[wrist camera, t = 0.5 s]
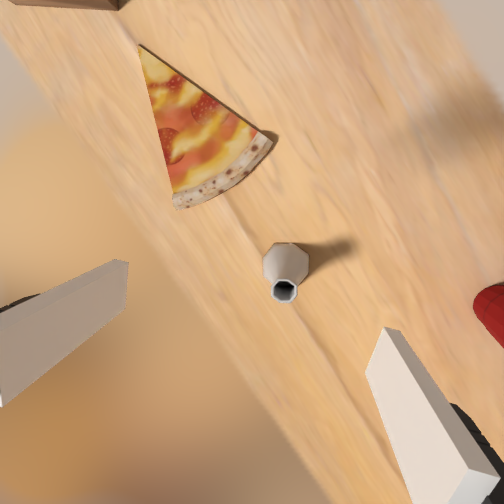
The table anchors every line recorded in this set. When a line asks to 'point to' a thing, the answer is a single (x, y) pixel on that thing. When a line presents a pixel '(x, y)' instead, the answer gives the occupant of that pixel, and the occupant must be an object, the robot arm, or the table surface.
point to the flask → (285, 270)
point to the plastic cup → (491, 311)
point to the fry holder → (72, 4)
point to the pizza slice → (198, 136)
